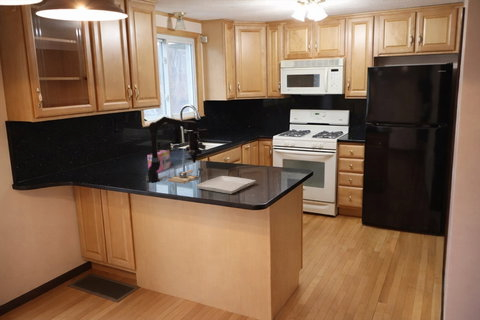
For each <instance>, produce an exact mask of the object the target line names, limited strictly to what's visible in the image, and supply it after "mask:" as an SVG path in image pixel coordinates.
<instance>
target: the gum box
mask: <svg viewBox="0 0 480 320" xmlns="http://www.w3.org/2000/svg"><path fill="white" fill-rule="evenodd" d="M157 153H158V159H160V164H161V166H160V167H159V170H157V172H158V174H159V173H161V172H163V171H164V170H167V169H169V168H170V167H171V165H172V164H171V162H172V161H171V155H170V154H171V153H170V149H167V150H164V149H159V150H157ZM146 160H147V169H148V168H149V167H150V166H151V162H152V152H151V153H149V154H147V159H146Z"/></svg>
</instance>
